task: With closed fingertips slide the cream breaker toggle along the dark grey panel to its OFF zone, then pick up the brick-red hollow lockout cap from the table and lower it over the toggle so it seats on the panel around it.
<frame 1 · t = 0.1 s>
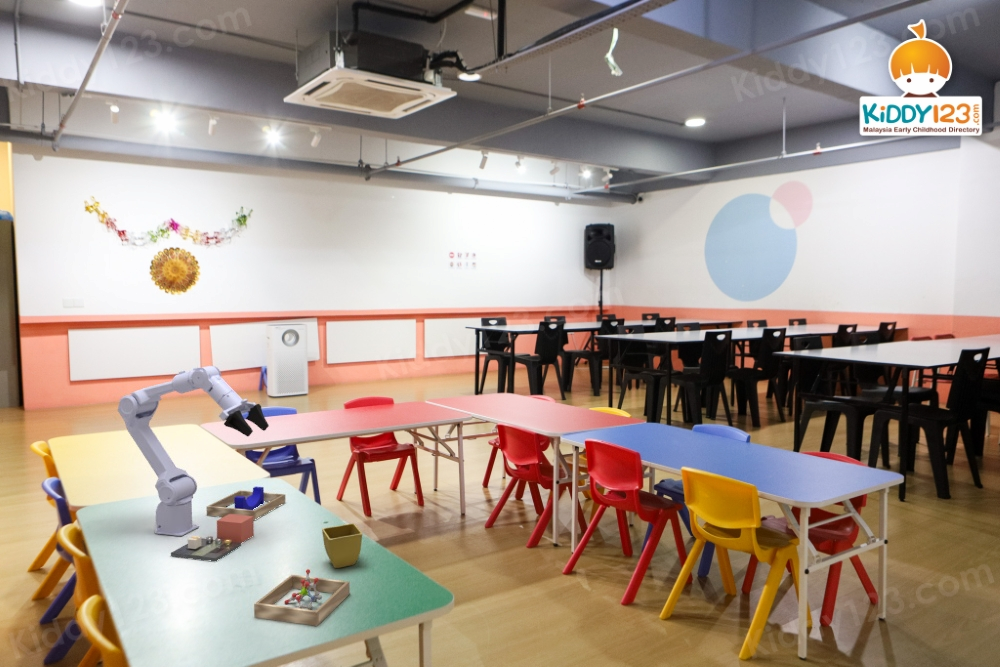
hand: (258, 431, 188), 32 cm above the table, tool tilted 50°, fingers open, 7 cm apart
wooden frame left: (247, 509, 216), on the table
wooden frame right: (303, 605, 151), on the table
blue curved cradle block: (247, 510, 216), on the table
lockout cap: (235, 538, 191), on the table
molecular model: (302, 606, 151), on the table
breaker toggle: (194, 542, 181), point 3 cm above the table, slide at 0.0 cm
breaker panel: (206, 551, 182), on the table
flower pot: (342, 564, 174), on the table
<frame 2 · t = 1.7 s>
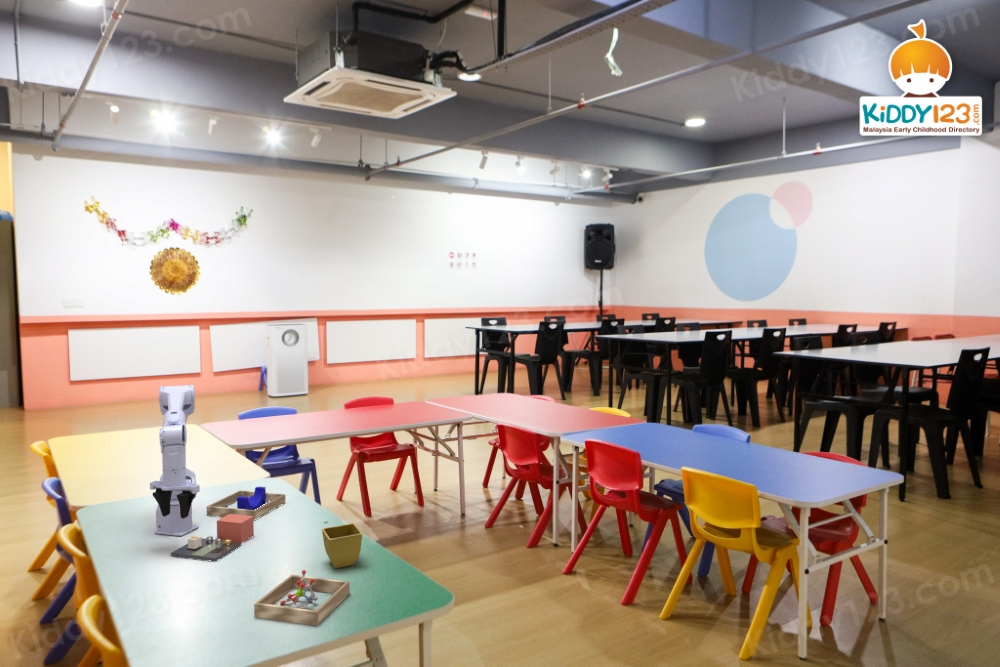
hand: (175, 516, 182), 9 cm above the table, tool pointing down, fingers open, 5 cm apart
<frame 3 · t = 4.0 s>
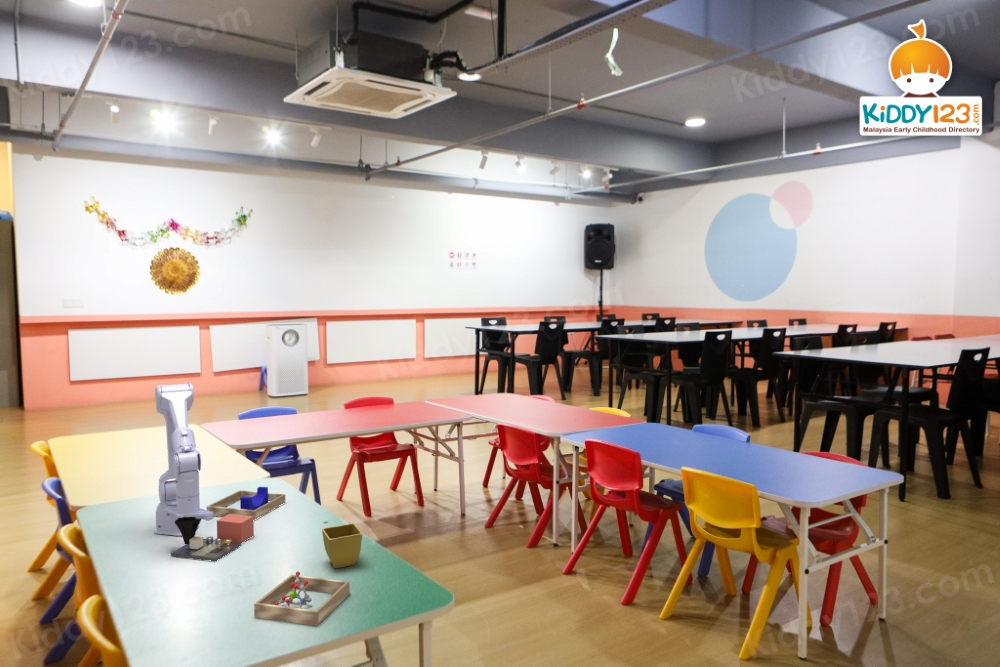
hand: (189, 543, 182), 2 cm above the table, tool pointing down, fingers closed
molecular model: (292, 609, 150), on the table
breaker toggle: (196, 542, 181), point 3 cm above the table, slide at 0.6 cm, touching gripper
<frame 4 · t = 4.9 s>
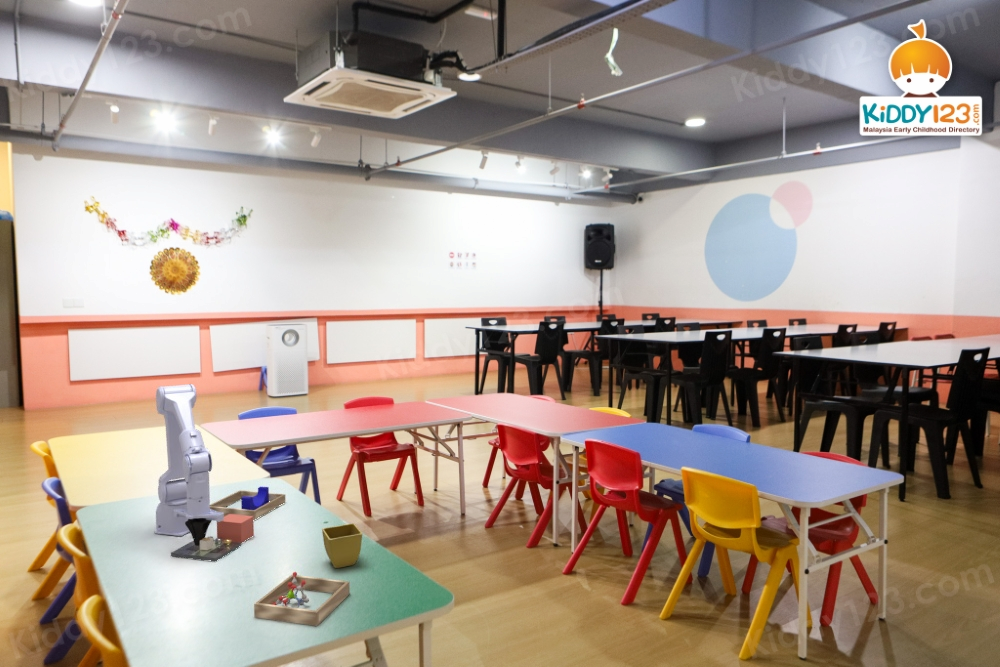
hand: (199, 544, 181), 2 cm above the table, tool pointing down, fingers closed
breaker toggle: (206, 543, 180), point 3 cm above the table, slide at 3.8 cm, touching gripper
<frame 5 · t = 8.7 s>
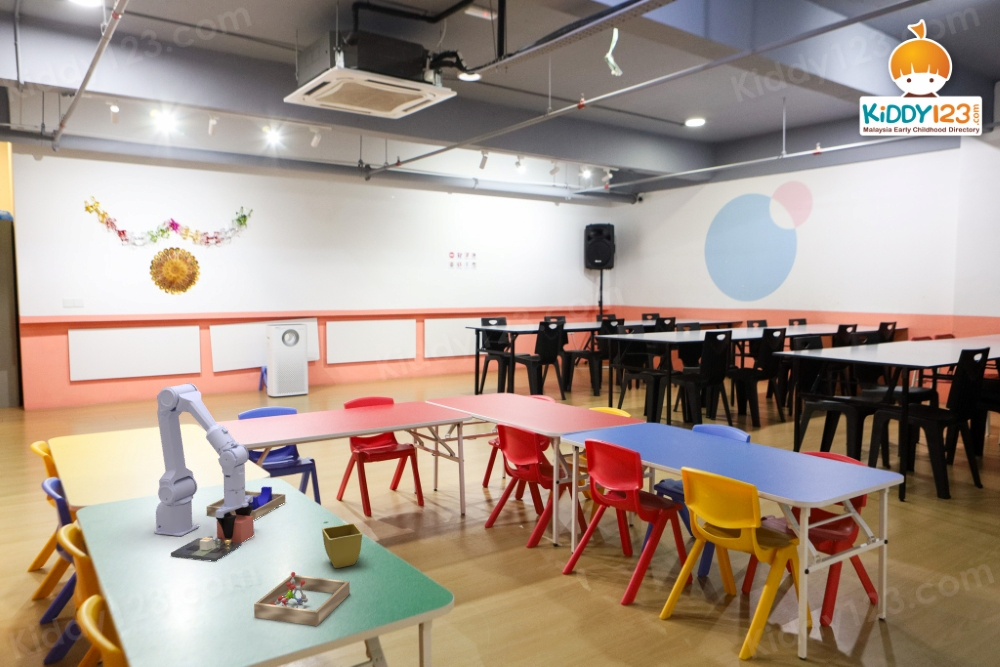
hand: (235, 533, 191), 1 cm above the table, tool pointing down, fingers closed on lockout cap, 6 cm apart
blue curved cradle block: (257, 510, 216), on the table
lockout cap: (235, 538, 191), on the table, touching gripper
breaker toggle: (206, 543, 180), point 3 cm above the table, slide at 3.8 cm
everything else where it was.
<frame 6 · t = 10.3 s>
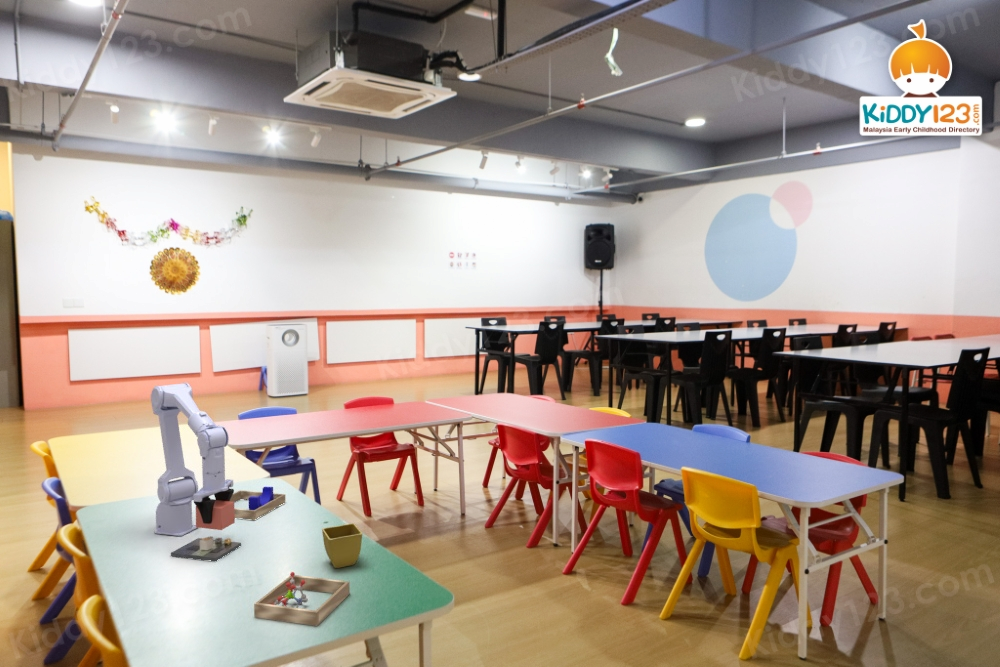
hand: (214, 519, 183), 8 cm above the table, tool pointing down, fingers closed on lockout cap, 6 cm apart
lockout cap: (215, 524, 183), point 7 cm above the table, touching gripper
molecular model: (288, 610, 150), on the table, touching wooden frame right
when the fingers open (4 cm above the table, at t = 12.0 s): lockout cap stays where it is, resting on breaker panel.
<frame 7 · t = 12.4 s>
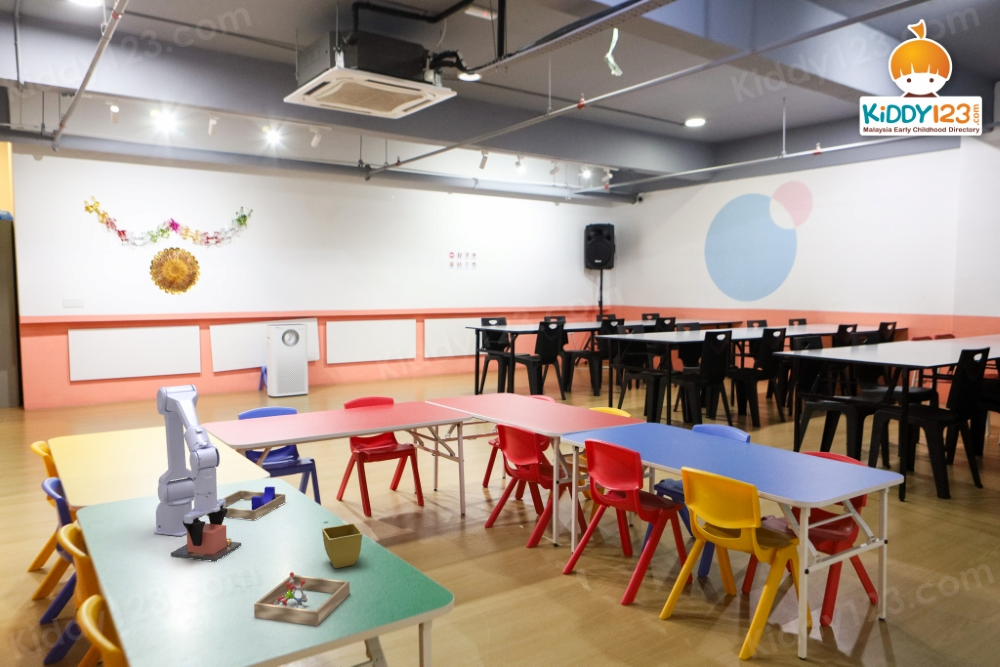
hand: (206, 540, 180), 4 cm above the table, tool pointing down, fingers open, 7 cm apart
lockout cap: (207, 549, 180), point 1 cm above the table, touching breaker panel
molecular model: (288, 610, 150), on the table
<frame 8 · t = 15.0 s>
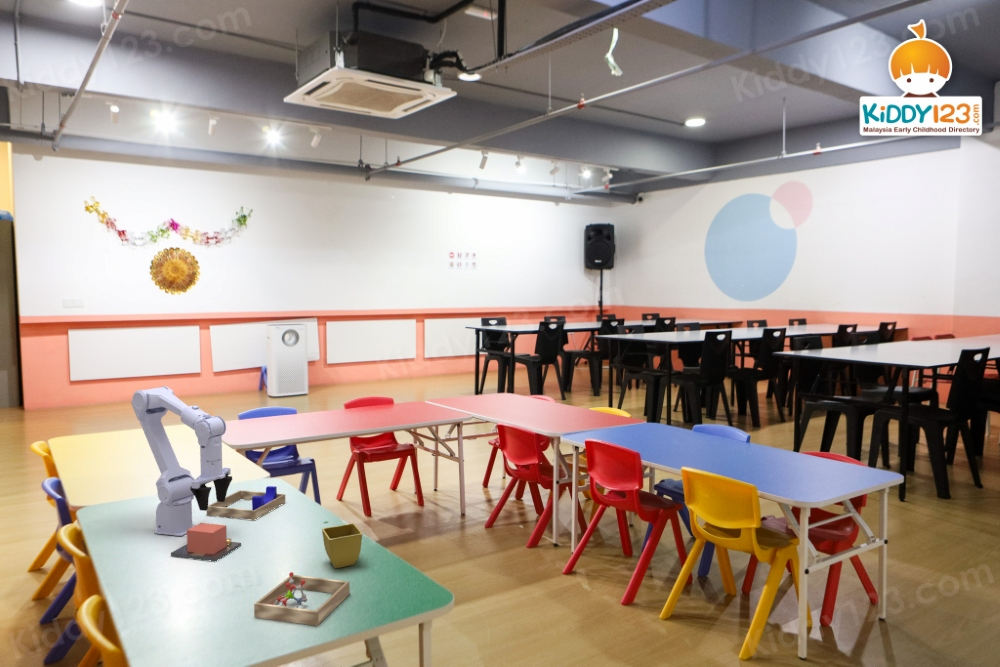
hand: (212, 505, 190), 10 cm above the table, tool pointing down, fingers open, 7 cm apart
at the end: breaker toggle slide at 3.8 cm; lockout cap 0.2 cm off-centre on the breaker toggle, point 1.1 cm above the breaker toggle's base; lockout cap tilted 0° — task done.
